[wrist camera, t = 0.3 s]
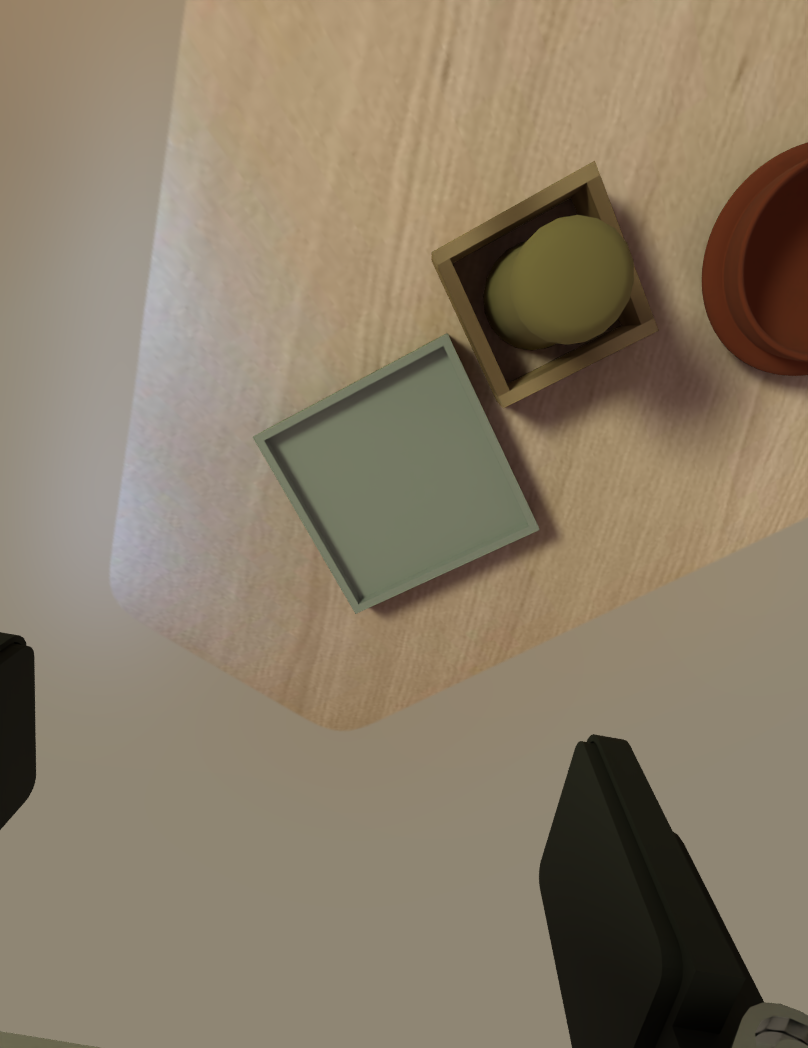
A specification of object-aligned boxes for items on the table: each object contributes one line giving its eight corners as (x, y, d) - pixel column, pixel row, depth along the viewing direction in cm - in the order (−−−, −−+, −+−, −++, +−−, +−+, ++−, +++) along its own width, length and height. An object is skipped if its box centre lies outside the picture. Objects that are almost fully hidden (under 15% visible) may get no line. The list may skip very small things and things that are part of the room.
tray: (446, 333, 36) (447, 333, 34) (534, 520, 39) (539, 529, 37) (261, 431, 38) (252, 437, 36) (359, 601, 41) (355, 613, 39)
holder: (578, 178, 33) (594, 160, 30) (637, 331, 35) (658, 330, 32) (431, 260, 35) (431, 252, 31) (496, 401, 37) (503, 408, 33)
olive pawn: (597, 331, 35) (668, 329, 25) (498, 363, 36) (526, 374, 26) (574, 224, 34) (640, 172, 23) (471, 260, 35) (488, 225, 24)
